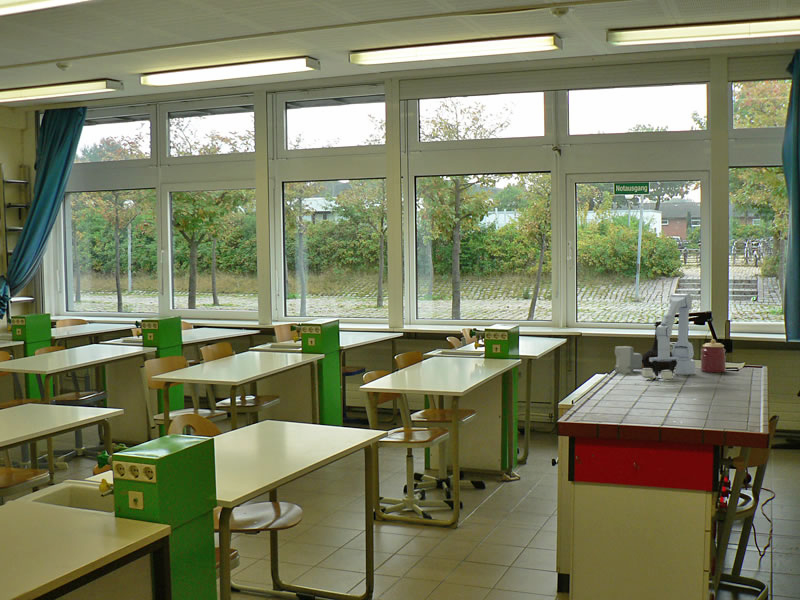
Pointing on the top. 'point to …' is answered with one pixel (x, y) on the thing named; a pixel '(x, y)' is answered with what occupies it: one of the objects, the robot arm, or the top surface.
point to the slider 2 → (666, 374)
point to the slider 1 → (647, 372)
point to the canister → (713, 357)
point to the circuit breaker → (627, 359)
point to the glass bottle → (655, 355)
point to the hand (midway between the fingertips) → (663, 375)
